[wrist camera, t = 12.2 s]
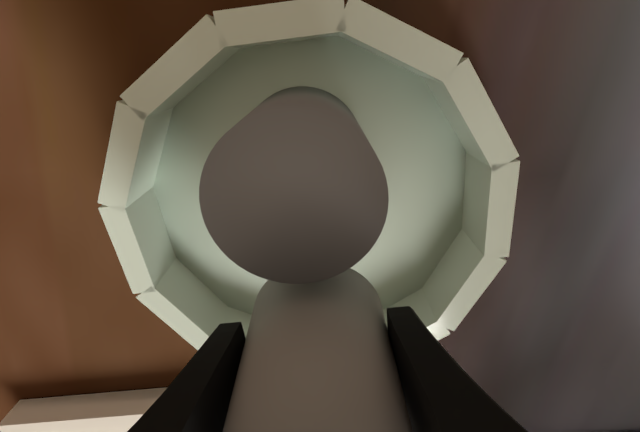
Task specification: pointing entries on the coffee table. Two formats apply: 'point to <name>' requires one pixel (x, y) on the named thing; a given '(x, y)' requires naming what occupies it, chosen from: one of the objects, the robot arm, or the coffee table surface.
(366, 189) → the pebble
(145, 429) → the robot arm
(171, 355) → the coffee table surface
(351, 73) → the celadon bowl
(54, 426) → the parts tray
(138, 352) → the coffee table surface
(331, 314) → the pebble
